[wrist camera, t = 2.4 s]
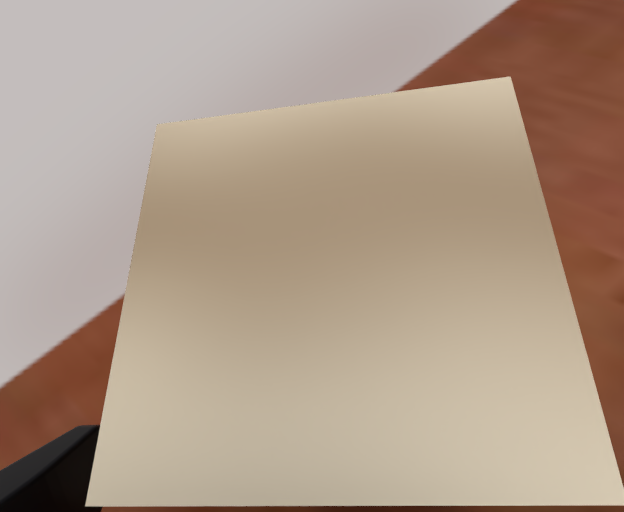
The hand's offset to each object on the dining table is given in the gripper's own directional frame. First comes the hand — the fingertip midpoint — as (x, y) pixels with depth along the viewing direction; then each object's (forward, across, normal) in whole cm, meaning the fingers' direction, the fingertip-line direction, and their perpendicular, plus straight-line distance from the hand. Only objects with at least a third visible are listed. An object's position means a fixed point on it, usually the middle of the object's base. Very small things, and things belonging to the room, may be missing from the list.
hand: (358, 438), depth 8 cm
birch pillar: (+8, 0, +5) cm, 9 cm away
